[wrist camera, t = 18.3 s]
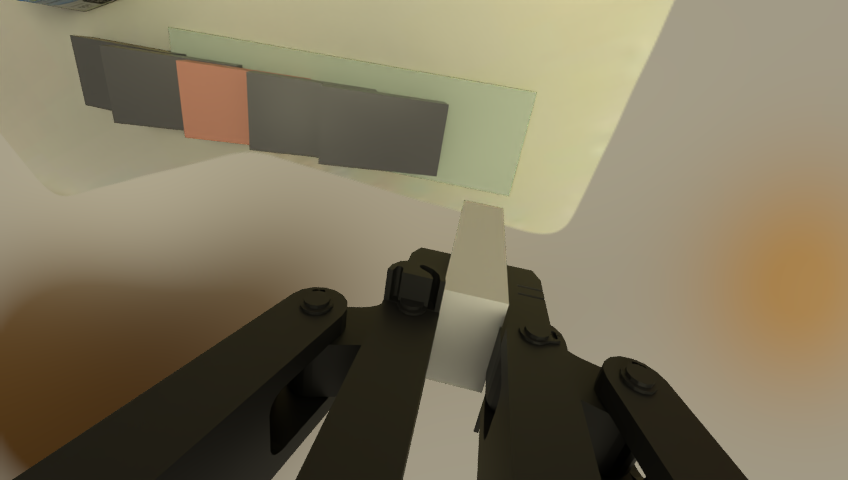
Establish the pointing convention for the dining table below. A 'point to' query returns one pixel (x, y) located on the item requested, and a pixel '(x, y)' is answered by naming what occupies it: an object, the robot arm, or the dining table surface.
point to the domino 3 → (285, 113)
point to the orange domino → (214, 101)
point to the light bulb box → (72, 3)
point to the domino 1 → (97, 68)
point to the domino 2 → (145, 86)
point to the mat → (468, 100)
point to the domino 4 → (380, 130)
